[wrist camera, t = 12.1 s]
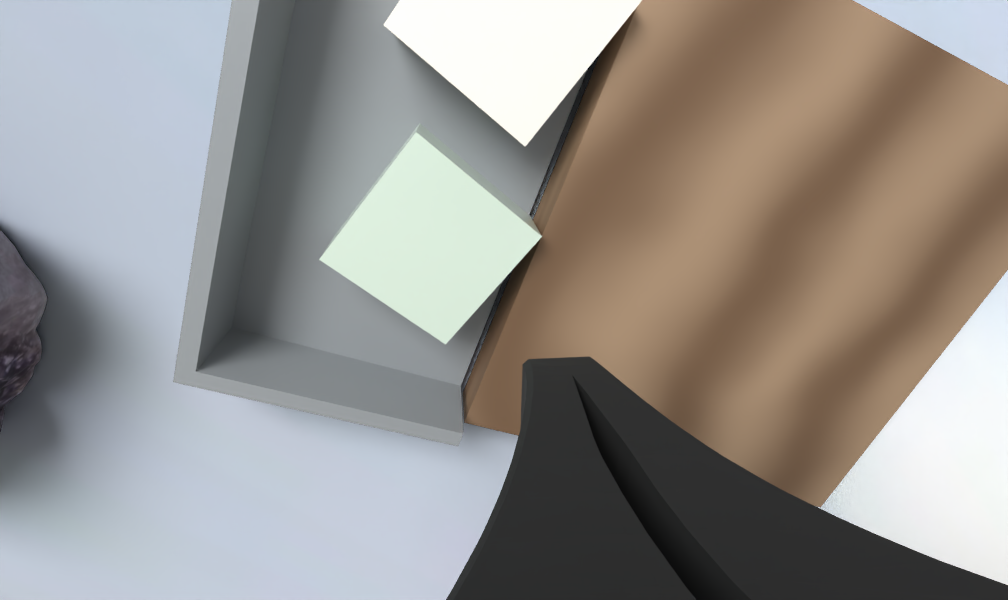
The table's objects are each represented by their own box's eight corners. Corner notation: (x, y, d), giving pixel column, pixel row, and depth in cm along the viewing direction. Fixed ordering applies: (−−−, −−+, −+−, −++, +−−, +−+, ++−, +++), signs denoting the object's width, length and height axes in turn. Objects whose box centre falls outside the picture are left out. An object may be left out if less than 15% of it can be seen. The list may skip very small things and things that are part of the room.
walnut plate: (1049, 133, 20) (1109, 140, 18) (794, 476, 26) (820, 507, 25) (652, -76, 16) (679, -95, 14) (462, 393, 22) (464, 422, 20)
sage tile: (530, 216, 19) (542, 236, 17) (445, 313, 20) (445, 344, 18) (419, 123, 17) (416, 131, 15) (334, 235, 18) (319, 259, 16)
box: (643, -81, 16) (694, -118, 13) (456, 391, 22) (457, 446, 19) (322, -250, 13) (285, -347, 10) (216, 331, 20) (173, 382, 17)
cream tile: (615, 8, 16) (643, -1, 14) (514, 136, 18) (525, 146, 15) (493, -122, 15) (502, -156, 12) (392, 30, 16) (383, 24, 14)
